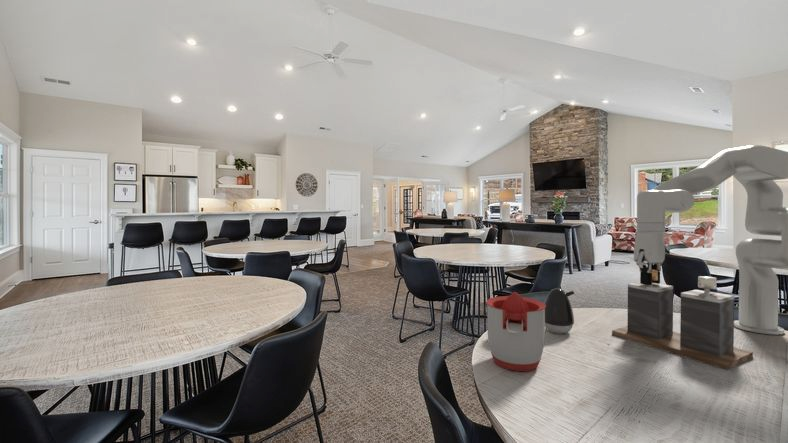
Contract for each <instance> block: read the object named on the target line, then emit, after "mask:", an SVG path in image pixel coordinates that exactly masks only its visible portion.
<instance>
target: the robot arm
mask: <svg viewBox="0 0 788 443" xmlns="http://www.w3.org/2000/svg"><path fill="white" fill-rule="evenodd" d="M731 177H734V179H736V180H737V181H738V182H739V183H740V184H741V185H742V186H743V188H744V189H745V192H746V195H747V201H746V208H745V209H746V210H745V218H744V226H745V229H746V231H747V232H748V233H750V234H754V235H758V236H759V235H760V236H774V237H775V236H778V237H781V240H780V239H771V238H770V239H769V238H747V239H744V240H741V241H739V243H738V244H737V245H736V247H735V257H736V260H737V266H738V272H739V273H738V274H739V275H738V276H739V277H738V279H739V280H738V282H739V283H738V320H737V319H734V328H737V329H739V330H743V331H747V332H752V333H757V334H761V335H762V334H763V335H764V334H765V335H775V336H779V334H780V335H783V334H785V329H784V328H783V327H780V326H778V325H779V321H778V320H779V282H780V281H779V278H778V276H777V274H776V272H775V271H774V270H773V269H779V270H784V271H785V270H786V271H787V270H788V207H786V206H785V207H783V206H784V205H783V203H784V201H783V200H784V193H783V190H782V188H781V187H780V186H779V185H778V183H776V182H775V181H777V180H787V179H788V151H785V150H783V149H778V148H774V147H770V146H766V145H759V144H752V145H751V144H750V145H746V146H739V147H733V148H727V149H723V150H720V151H719V152H717V153H715V154H714V155H713V156H711V157H710V158H708V159H706V160H705V161H703V162H702V163H701V164H700V165H698V166H696V167H695V168H693V169H692V170H689V171H686V172H684V173H682V174H679V175H677V176H675V177H672V178H670V179H668V180H666V181H663V182H661V183H659V184H658V185H656V186H655V187H653V188H652V189H650V190H641V191H639V192H638V193H637V196H636V235H635V238H634V239H635V240H634V246H633V261H634V262H636V263H635V265H636V266H638V268H639V272H640V275H639V276H640V278H639V279H640V280H639V282H640V283H641V284H645V285H652V283H657V284H661V271H662V264H663V263H664V262H665V258H666V244H665V243H666V242H665V241H666V240H665V233H666V213H670V214H671V213H672V214H673V213H674V214H675V213H677V214H678V213H684V212H687V211H689V210H691V209H692V208H693V206H694V205H695V203H696V202H695V200H696V199H695V196H694V195H695V194H701V193H704V192H707V191H711V190H714V189H715V188H716V187H718V186H719V185H721V184H722V183H724V182H725V181H726V180H728V179H729V178H731ZM651 270H657V271H658V280H657V281H652V273H650V272H651Z"/></svg>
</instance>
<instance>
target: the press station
mask: <svg viewBox="0 0 788 443" xmlns="http://www.w3.org/2000/svg"><path fill="white" fill-rule="evenodd" d="M734 321H735V295H734V294H726V293H721V292H715V291H710V295H704V290H701V289H693V290H688V291H683V292H680V321H679V322H680V323H679V324H680V327H679V328H680V330H679V331H680V332H677V331H673V330H674V285H669V284H665V283H664V284H663V283H659V284H657V283H652V286H649V285H645V284H641V283H640V281H637V282H632V283H627V325H626V326H622V327H619V328H616V329H612V332H611V334H612V336H616V337H619V338H622V339H625V340H629V341H632V342H635V343H639V344H642V345H645V346H649V347H652V348H654V349H658V350H662V351H664V352H668V353H672V354H675V355H677V356H681V357H684V358H688V359H691V360H695V361H697V362H702V363H704V364H708V365H710V366H715V367H718V368H721V369H725V370H729V369H731V368H733V367H736V366H738V365H740V364H742V363H745V362H746V361H749V360H750V359H753V357H754V352H753V351H751V350H747V349H746V350H745V349H742V348H738V347H734V346H735V345H734V344H735V343H734V342H735V340H734V336H735V333H734V332H735V326H734Z"/></svg>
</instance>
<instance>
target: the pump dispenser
mask: <svg viewBox="0 0 788 443" xmlns="http://www.w3.org/2000/svg"><path fill="white" fill-rule="evenodd" d="M572 295H575V291H574V290H571V291H568V292H565V290H563V289H562V288H559V287H556V288H553V289H551V290H550V291H549V292H548V294H547V296H546V298H545V299H544V302H543V303H544V304H545V305H546V308H545V330H547V331H549V332H550V331H551V332H550V333H553V334H557V333H558V334H557V335H564V334H567V333H569V332H570V331H571V330H572V328H573V325H574V324H575V317H574V316H575V315H574V310H573V307H572V303H571V301H570V299H569V297H571V296H572Z"/></svg>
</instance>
